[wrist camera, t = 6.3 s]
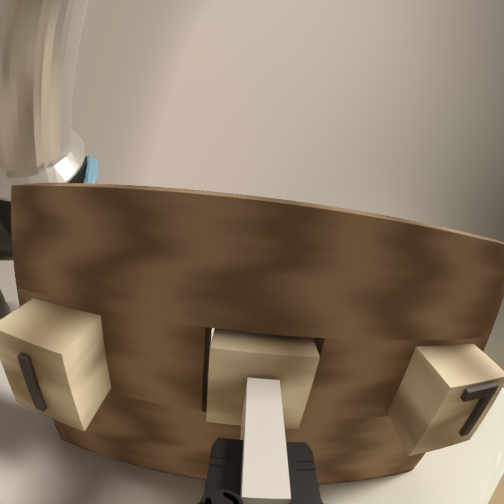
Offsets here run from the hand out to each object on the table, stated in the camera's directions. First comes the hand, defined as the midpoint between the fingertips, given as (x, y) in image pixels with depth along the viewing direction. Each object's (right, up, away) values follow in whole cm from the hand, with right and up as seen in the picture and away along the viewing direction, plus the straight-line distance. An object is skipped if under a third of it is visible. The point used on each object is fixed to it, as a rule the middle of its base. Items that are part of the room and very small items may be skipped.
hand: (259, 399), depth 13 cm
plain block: (0, -1, +5) cm, 5 cm away
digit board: (-1, -10, +5) cm, 11 cm away
